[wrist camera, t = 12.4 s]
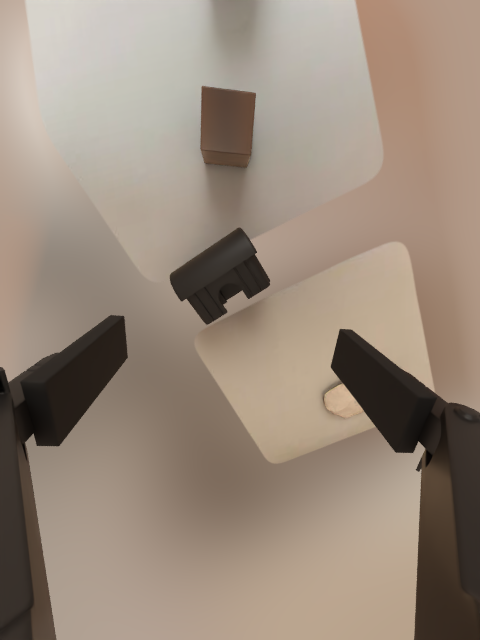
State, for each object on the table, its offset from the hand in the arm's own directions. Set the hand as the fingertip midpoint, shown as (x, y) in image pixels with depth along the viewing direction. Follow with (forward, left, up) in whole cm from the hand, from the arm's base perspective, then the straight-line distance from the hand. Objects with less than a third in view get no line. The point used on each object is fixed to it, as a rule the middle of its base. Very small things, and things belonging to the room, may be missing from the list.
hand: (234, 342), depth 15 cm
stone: (-24, +17, -20) cm, 35 cm away
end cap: (+1, -1, -20) cm, 20 cm away
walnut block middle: (+1, -16, -20) cm, 25 cm away
